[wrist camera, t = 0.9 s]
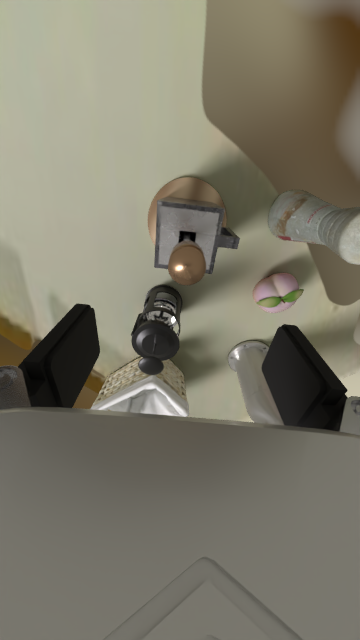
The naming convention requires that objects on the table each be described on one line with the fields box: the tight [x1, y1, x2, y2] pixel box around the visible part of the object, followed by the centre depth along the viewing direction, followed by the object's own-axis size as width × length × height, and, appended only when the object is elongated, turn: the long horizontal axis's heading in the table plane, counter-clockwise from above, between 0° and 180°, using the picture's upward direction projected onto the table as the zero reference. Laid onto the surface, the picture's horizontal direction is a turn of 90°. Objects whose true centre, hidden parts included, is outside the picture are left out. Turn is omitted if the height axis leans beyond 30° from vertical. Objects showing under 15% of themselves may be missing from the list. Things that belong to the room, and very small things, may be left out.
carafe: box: [154, 197, 240, 274], centre depth 36 cm, size 12×9×15 cm
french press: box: [131, 285, 182, 375], centre depth 43 cm, size 12×9×23 cm
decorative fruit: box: [253, 273, 304, 313], centre depth 45 cm, size 9×8×10 cm
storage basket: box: [91, 357, 189, 417], centre depth 61 cm, size 24×16×15 cm
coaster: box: [148, 177, 227, 245], centre depth 43 cm, size 16×16×1 cm
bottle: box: [268, 190, 360, 264], centre depth 30 cm, size 9×9×28 cm
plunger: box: [168, 231, 206, 285], centre depth 28 cm, size 6×6×19 cm
